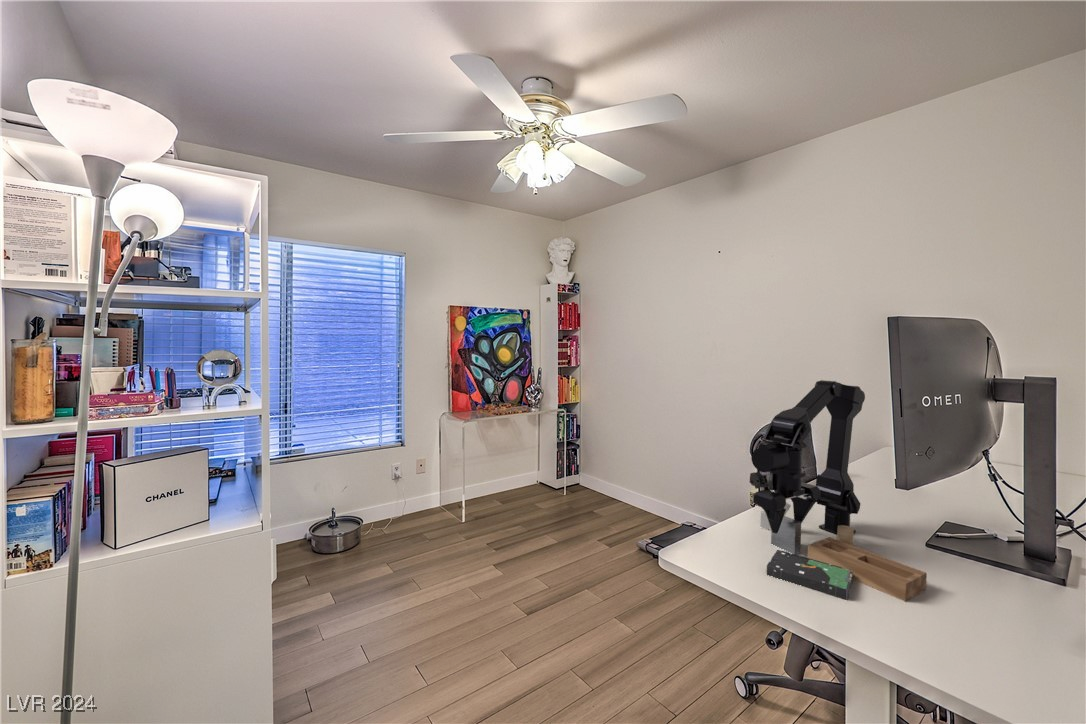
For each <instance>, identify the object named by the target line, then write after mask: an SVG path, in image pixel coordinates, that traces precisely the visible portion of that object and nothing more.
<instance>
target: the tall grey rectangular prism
mask: <svg viewBox="0 0 1086 724" xmlns="http://www.w3.org/2000/svg"><path fill="white" fill-rule="evenodd" d="M770 533H771V534H770V545H771V544H773V545H775V546H777V547H776V548H778V547H779V548H778V549H780V548H781V550H782V549H784V550H783V551H785V550H786V551H785V552H787V551H788V552H790V553H791V554H795V555H798V554H801V548H802V547H801V546H802V545H801V542H802V540H801V539H802V524H801V522H800V521H797V520H794V518H791V517H789V516H786V515H785V516H784V517H783V520H782V522H781V525H780V528H779V530H778V533H777V534H775V533H773V532H772V530H770ZM773 545H772V546H773ZM775 546H774V547H775ZM797 553H798V554H797Z"/></svg>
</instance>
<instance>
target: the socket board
mask: <svg viewBox="0 0 1086 724" xmlns="http://www.w3.org/2000/svg"><path fill="white" fill-rule="evenodd" d="M807 558H809V559H813V560H817V561H820V562H824V563H828V564H830V565H835V566H839V567H842V568H844V569H848V570H850V571H852V572H853V581H857V582H859V583H861V584H864V585H865V586H869V587H870V588H873V589H876V590H877V591H880V592H882V593H885V594H887V595H889V596H891V597H894V598H896V599H898V600H901V601H903V602H906V601H908V600H910V599H911V598H913V597H915V596H917V595H920V594H921V593H922V591H923V592H924V591H926V590H927V578H928V577H927V574H928V573H927V572H925V571H922V570H920V569H918V568H915V567H911V566H908V565H907V564H905V563H904V564H903V563H901V562H898V561H895V560H892V559H890V558H887V557H884V556H882V555H879V554H876V553H873V552H872V551H868V550H865V549H864V548H860V547H857V546H854V545H853V546H852V545H849V544H847V543H844V542H841V541H839V540H837V538H834V537H831V536H830V537H827V538H823V539H821V540H819V541H814V542H813V543H810V544H808V545H807ZM920 592H921V593H920Z"/></svg>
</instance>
